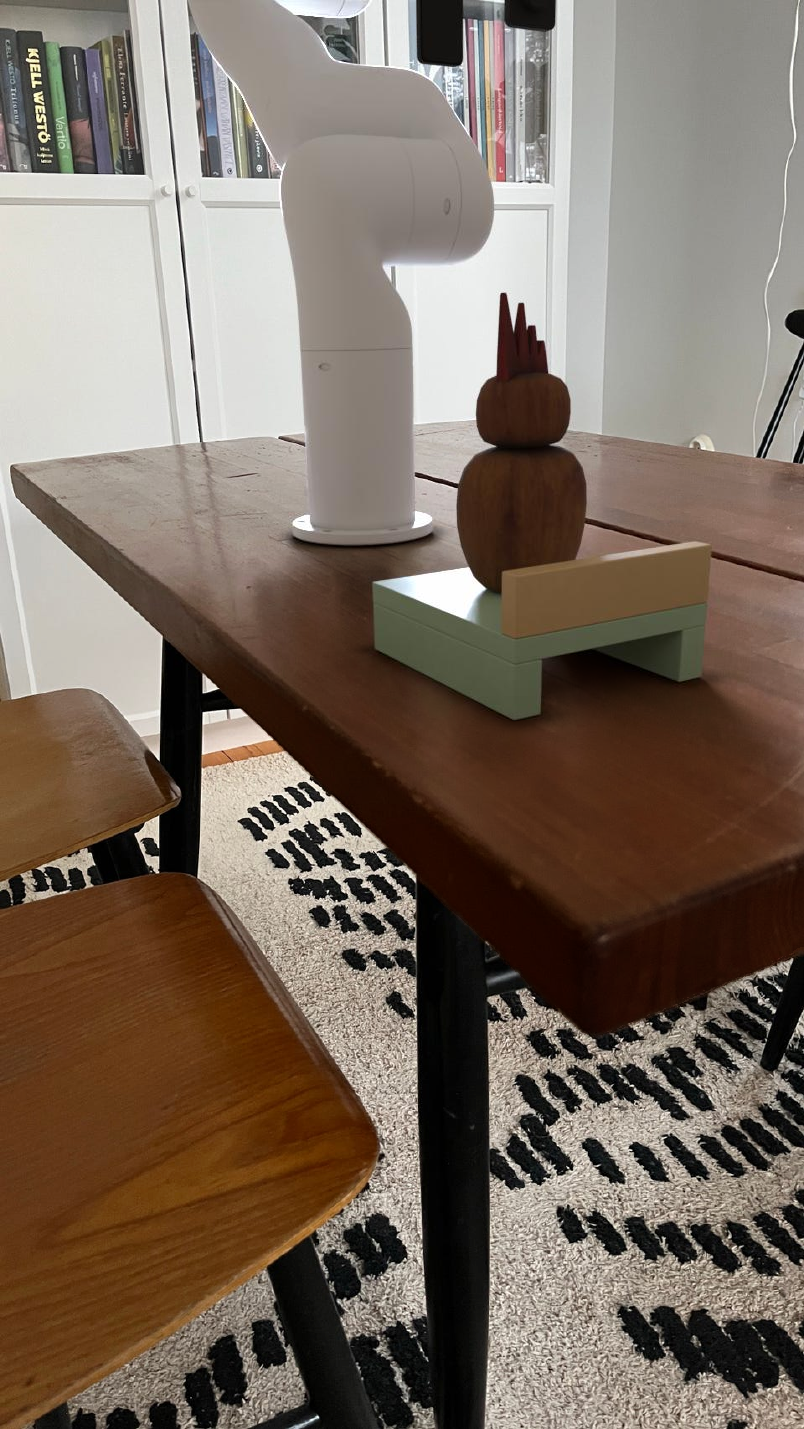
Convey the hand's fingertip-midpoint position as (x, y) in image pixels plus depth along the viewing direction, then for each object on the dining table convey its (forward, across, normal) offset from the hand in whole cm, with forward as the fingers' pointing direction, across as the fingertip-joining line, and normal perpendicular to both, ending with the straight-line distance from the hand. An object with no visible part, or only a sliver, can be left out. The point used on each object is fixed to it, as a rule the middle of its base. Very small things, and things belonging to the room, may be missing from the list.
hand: (482, 47), depth 64 cm
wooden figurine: (+30, +16, -8) cm, 34 cm away
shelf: (+33, +17, -8) cm, 38 cm away
